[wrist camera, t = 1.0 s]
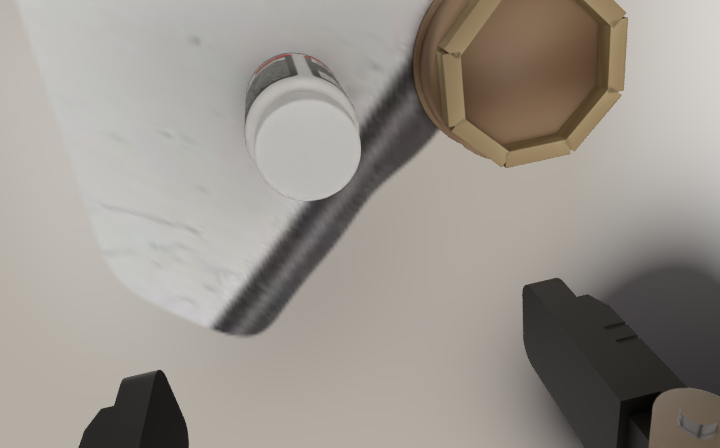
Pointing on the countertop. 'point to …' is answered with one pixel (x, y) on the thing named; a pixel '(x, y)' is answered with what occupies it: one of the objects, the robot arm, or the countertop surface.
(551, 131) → the octagonal tan dish
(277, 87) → the pill bottle
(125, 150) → the countertop surface
